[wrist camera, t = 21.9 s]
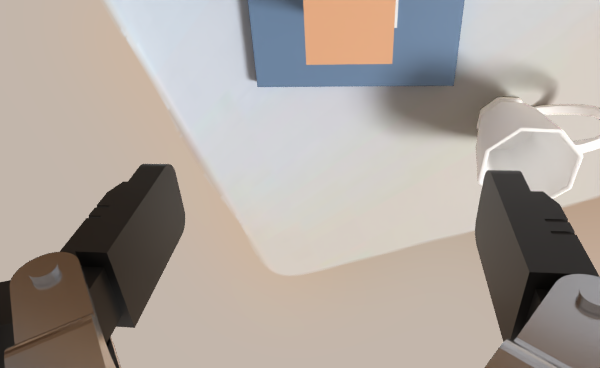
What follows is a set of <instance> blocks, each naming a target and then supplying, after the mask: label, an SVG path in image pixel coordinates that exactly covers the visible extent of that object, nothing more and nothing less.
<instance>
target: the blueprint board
mask: <svg viewBox="0 0 600 368" xmlns="http://www.w3.org/2000/svg"><path fill="white" fill-rule="evenodd" d="M248 6H249V15H250V24H251V33H252V42H253V51H254V60H255V69H256V78H257V87H324V86H454V79H455V71H456V63H457V55H458V47H459V39H460V31H461V24H462V16H463V8H464V0H396V5H395V23H394V42H393V60H392V64H337V65H306V49H305V28H304V7H303V0H248Z"/></svg>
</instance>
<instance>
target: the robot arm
mask: <svg viewBox="0 0 600 368" xmlns="http://www.w3.org/2000/svg"><path fill="white" fill-rule="evenodd" d="M184 225H185V212H184V207H183V203H182V199H181V194H180V190H179V186H178V182H177V177H176V173H175V170H174V168H173V166H172V165H169V164H142V165H141V166H140V167H139V168H138V169H137V171H136V172H135V173H134V174H133V176H132V177H131V178H130V180H129V181H128V182H122V183H121V184H119V185H118V186H116V187H115V188H114V189H112V190H110V191H109V192H107V193H106V195H105V196H104V197H103V199H102V200H101V201H100V202H99V203H98V205H97V208H94V210H93V211H92V212H91V213H90V215H89V218H87V219H86V220H85V221H84V222H83V223H82V225H81V226H80V227H79V228H78V230H77V231H76V232H75V233H74V235H73V236H72V237H71V238H70V240H69V241H68V242H67V243H66V245H65V246H64V247H63V248H62V249H61V251H60V252H54V253H48V254H45V255H42V256H39V257H37V258H35V259H33V260H31V261H29V262H27V263H26V264H25V265H23V266H22V267H21V268H19V269H18V270H17V271H16V273H15V274H14V275H13V277H12V278H11V280H10V281H5V282H0V368H121V366H120V363H119V360H118V356H117V353H116V350H115V346H114V343H113V341H112V339H111V334H112V333H113V331H114V329H115V327H116V326H118V327H133V328H135V326H136V324H137V322H138V320H139V318H140V316H141V314H142V312H143V310H144V308H145V306H146V304H147V302H148V300H149V298H150V296H151V294H152V292H153V290H154V289H155V287H156V285H157V283H158V281H159V279H160V277H161V275H162V273H163V271H164V269H165V267H166V265H167V263H168V261H169V259H170V257H171V255H172V253H173V251H174V249H175V247H176V245H177V243H178V241H179V239H180V237H181V235H182V233H183V230H184ZM475 236H476V244H477V248H478V251H479V255H480V259H481V263H482V266H483V270H484V273H485V277H486V281H487V284H488V288H489V291H490V295H491V299H492V302H493V306H494V309H495V313H496V317H497V320H498V324H499V328H500V331H501V335H502V338H503V343H502V345H501V346H500V347H499V348H498V350H497V351H496V353H495V354H494V355H493V357H492V358H491V359H490V361H489V362H488V363H487V365H486V366H485V368H600V277H599V275H598V273H597V271H596V269H595V268H594V266H593V264H592V262H591V261H590V259H589V257H588V255H587V253H586V251H585V250H584V248H583V246H582V244H581V242H580V241H579V239H578V237H577V235H575V234H574V230H573V228H572V226H571V224H570V223H569V222H568V219H567V217H566V215H565V214H564V212H563V210H562V208H561V206H560V205H559V204H558V203H557V202H556V201H554V200H553V199H552V198H551V197H549V196H548V195H547V194H546V193H544V192H543V191H531V190H530V188H529V186H528V184H527V182H526V180H525V178H524V176H523V174H522V172H521V171H511V170H487V171H486V173H485V176H484V180H483V185H482V191H481V196H480V202H479V207H478V212H477V218H476V226H475Z"/></svg>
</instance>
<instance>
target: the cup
mask: <svg viewBox="0 0 600 368" xmlns="http://www.w3.org/2000/svg"><path fill="white" fill-rule="evenodd" d="M545 115H584V116H593V117H595V118H597V119H599V120H600V108H598V107H596V106H589V105H577V104H559V105H544V106H536V107H532V106H530V105H528V104H526V103H523V101H522V100H521V99H520V98H513V97H497V98H496V99H494V100H493V101H492V102H490V103H489V104H487V105H486V106H484V107H483V108H482V109H480V113H479V118H478V122H477V127H476V128H477V130H478V136H477V143H476V159H477V180H478V183H479V185H480V186H481V187H482V185H483V180H484V176H485V173H486V171H487V170H511V171H521V172H522V174H523V176H524V178H525V180H526V182H527V184H528V186H529V188H530V190H531V191H543V192H544V193H546V194H547V195H548V196H549V197H551V198H552V199H553V198H555V197H557V196H559V195H560V194H562V193H564V192H566V191H568V190H569V189H571V188H572V185H573V183H574V180H575V177H576V175H577V172H578V169H579V167H580V164H581V161H582V159H583V155H582V153H586V152H589V151H592V150H595V149H598V148H600V135H599V136H597V137H595V138H590V139H584V140H578V141H571V139H570V138H569V137H568V136H567V134H566V133H565V132H564V131H563V129H561V128H560V127H559V126H558V125H556V124H555V123H554V122H552V121H551V120H550V119H548V118H547V117H546V116H545Z"/></svg>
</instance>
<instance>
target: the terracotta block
mask: <svg viewBox="0 0 600 368" xmlns="http://www.w3.org/2000/svg"><path fill="white" fill-rule="evenodd" d="M395 5H396V0H303V7H304V28H305V49H306V65H337V64H392V60H393V42H394V23H395Z"/></svg>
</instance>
